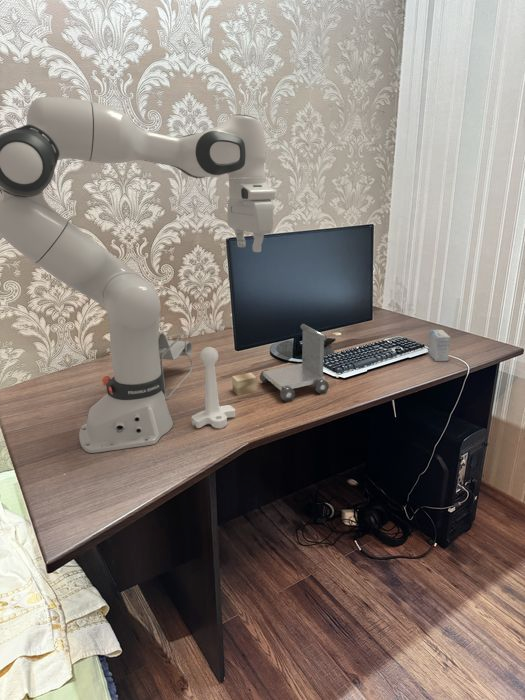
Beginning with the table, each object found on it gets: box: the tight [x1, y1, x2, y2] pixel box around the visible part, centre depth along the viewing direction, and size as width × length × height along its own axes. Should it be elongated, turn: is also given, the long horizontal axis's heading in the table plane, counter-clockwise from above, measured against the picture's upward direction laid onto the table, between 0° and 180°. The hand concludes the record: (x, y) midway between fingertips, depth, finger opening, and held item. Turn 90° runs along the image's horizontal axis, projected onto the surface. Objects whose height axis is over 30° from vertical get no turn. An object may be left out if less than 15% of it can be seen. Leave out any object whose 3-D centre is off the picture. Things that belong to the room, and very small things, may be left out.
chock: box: [231, 372, 258, 396], centre depth 135 cm, size 6×4×4 cm, turn 115°
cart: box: [259, 323, 330, 403], centre depth 134 cm, size 15×15×17 cm
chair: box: [158, 332, 194, 401], centre depth 139 cm, size 13×25×20 cm, turn 169°
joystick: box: [191, 346, 236, 429], centre depth 115 cm, size 11×8×20 cm
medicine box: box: [427, 329, 451, 362], centre depth 156 cm, size 8×4×9 cm, turn 179°
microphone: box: [324, 337, 336, 347], centre depth 168 cm, size 6×6×20 cm
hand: (249, 249), depth 116 cm, fingers open, 8 cm apart
